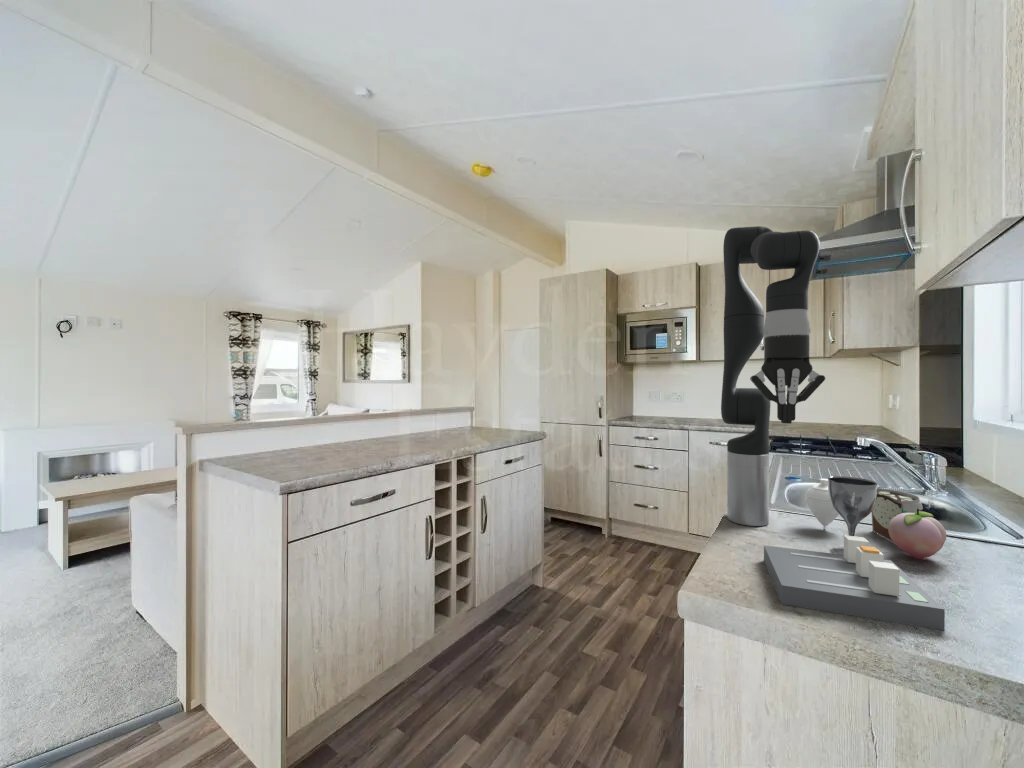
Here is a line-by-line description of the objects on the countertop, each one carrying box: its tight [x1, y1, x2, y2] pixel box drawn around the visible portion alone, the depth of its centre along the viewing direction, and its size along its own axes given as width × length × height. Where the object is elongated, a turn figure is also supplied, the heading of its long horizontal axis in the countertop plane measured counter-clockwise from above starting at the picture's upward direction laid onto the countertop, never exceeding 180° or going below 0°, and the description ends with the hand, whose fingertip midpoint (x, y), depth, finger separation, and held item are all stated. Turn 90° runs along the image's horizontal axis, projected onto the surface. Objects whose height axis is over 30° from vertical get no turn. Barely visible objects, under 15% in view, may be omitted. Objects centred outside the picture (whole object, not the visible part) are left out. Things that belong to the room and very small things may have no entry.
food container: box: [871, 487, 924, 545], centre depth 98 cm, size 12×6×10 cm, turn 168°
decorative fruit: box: [888, 509, 947, 560], centre depth 88 cm, size 9×8×10 cm
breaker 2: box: [869, 561, 900, 596], centre depth 68 cm, size 2×3×4 cm
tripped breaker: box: [856, 545, 885, 577], centre depth 73 cm, size 2×3×4 cm
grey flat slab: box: [763, 545, 946, 631], centre depth 75 cm, size 18×20×3 cm
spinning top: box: [804, 478, 840, 530], centre depth 104 cm, size 8×8×12 cm
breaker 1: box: [843, 534, 870, 563], centre depth 79 cm, size 2×3×4 cm
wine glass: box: [827, 475, 878, 555], centre depth 90 cm, size 8×8×15 cm
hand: (786, 423), depth 87 cm, fingers closed
